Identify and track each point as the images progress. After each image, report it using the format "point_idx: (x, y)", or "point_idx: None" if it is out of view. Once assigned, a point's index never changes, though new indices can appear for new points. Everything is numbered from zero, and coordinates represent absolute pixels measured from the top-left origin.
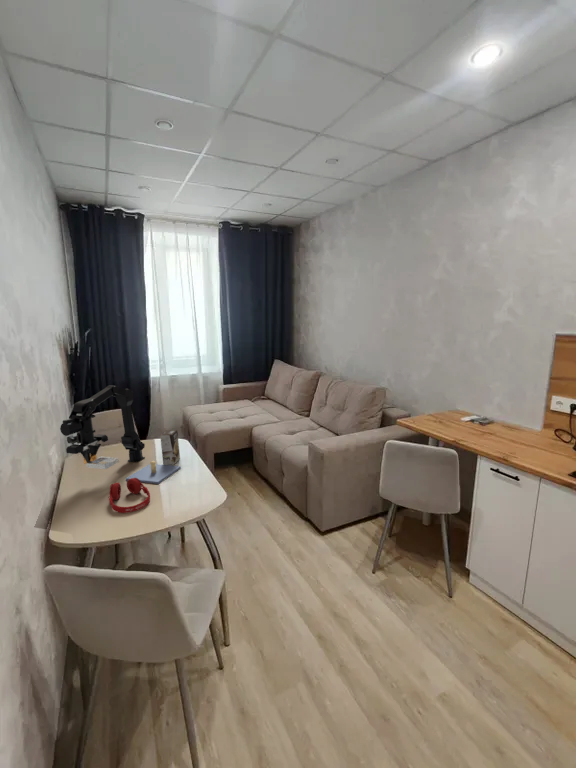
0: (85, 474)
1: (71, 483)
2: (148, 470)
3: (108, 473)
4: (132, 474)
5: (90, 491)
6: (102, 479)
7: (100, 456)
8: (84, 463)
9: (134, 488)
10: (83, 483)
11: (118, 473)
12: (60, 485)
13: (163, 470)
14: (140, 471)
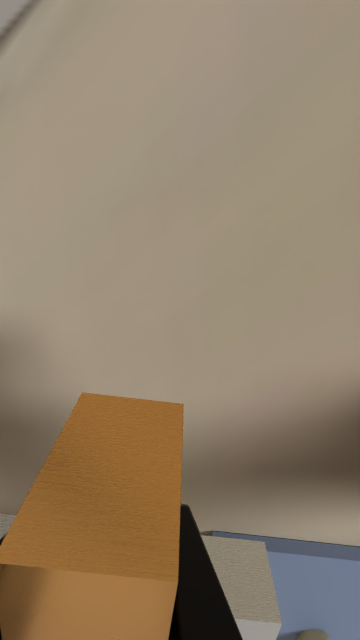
0: (334, 104)
1: (99, 123)
2: (342, 607)
3: (341, 347)
4: (279, 553)
5: (16, 415)
6: (216, 373)
7: (269, 626)
8: (78, 401)
9: None
10: (122, 260)
11: (335, 427)
12: (29, 14)
13: None
14: (329, 575)
